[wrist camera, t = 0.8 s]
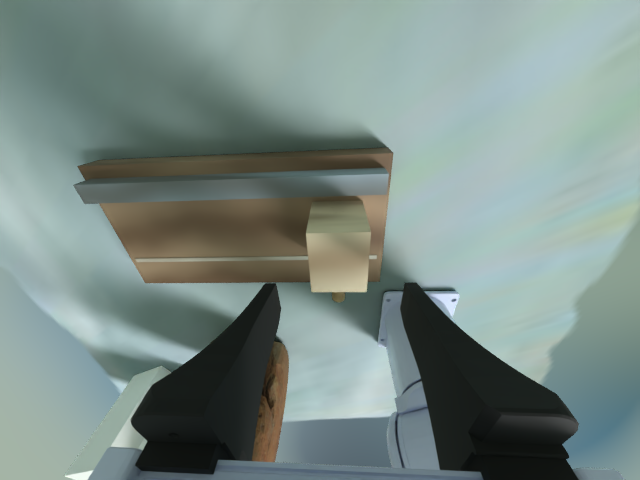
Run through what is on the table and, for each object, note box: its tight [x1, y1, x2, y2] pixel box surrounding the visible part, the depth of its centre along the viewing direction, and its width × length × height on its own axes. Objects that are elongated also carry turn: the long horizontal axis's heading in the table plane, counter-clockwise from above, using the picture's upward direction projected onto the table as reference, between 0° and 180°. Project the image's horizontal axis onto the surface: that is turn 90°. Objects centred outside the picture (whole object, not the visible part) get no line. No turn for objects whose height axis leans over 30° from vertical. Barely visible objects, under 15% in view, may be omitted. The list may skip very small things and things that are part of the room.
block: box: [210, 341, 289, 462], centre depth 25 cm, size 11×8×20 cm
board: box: [73, 147, 393, 283], centre depth 21 cm, size 12×24×4 cm, turn 93°
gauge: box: [306, 200, 371, 302], centre depth 19 cm, size 9×4×5 cm, turn 3°
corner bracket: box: [64, 366, 172, 480], centre depth 34 cm, size 11×11×12 cm
